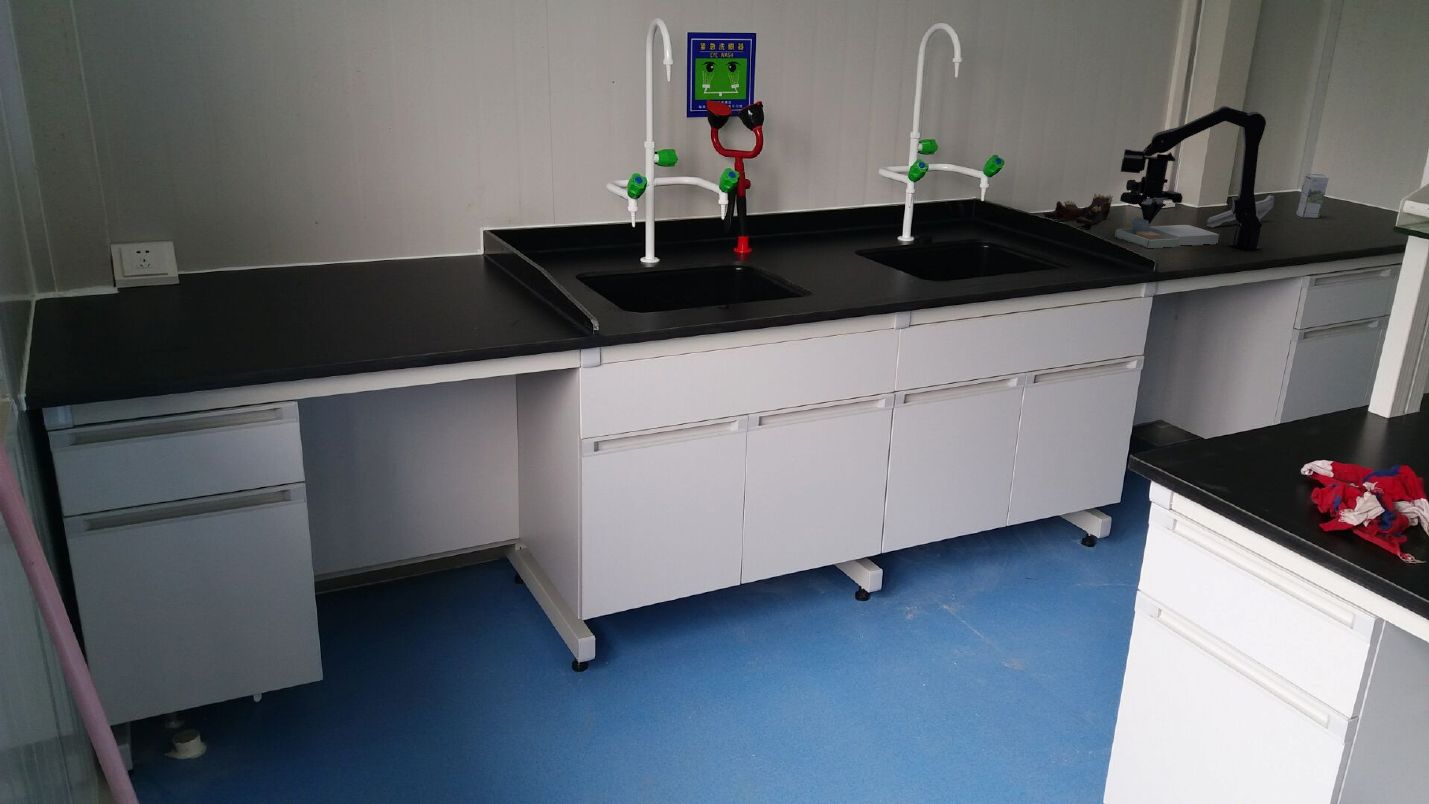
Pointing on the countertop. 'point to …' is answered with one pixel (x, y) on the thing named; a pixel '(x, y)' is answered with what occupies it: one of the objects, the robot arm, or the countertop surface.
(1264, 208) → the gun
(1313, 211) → the syrup box
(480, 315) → the countertop surface
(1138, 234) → the terracotta tile
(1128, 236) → the tray
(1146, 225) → the slate blue tile
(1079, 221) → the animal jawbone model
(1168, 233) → the plate
